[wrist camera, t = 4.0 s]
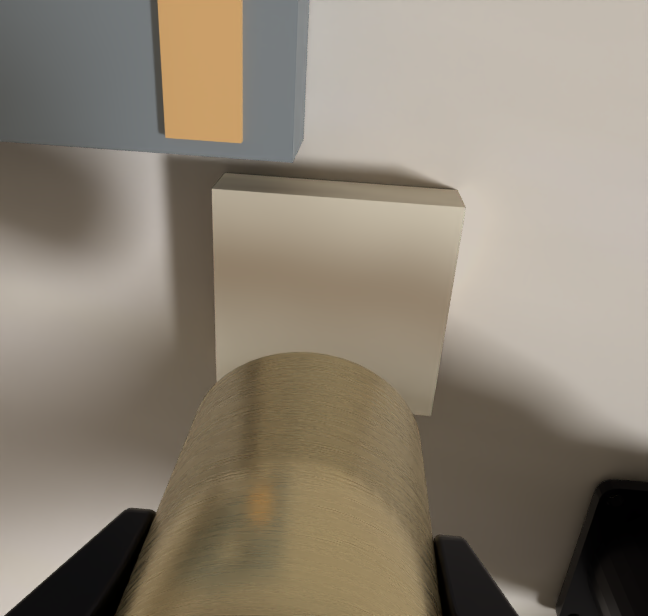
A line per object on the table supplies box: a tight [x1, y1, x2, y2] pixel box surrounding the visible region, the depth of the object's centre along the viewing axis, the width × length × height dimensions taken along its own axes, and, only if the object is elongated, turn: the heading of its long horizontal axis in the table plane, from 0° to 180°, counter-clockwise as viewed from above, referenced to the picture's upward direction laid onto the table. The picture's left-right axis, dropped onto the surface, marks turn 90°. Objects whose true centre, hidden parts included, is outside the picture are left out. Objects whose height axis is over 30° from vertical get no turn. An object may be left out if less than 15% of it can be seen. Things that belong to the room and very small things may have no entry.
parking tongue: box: [212, 173, 466, 416], centre depth 17 cm, size 6×6×2 cm
